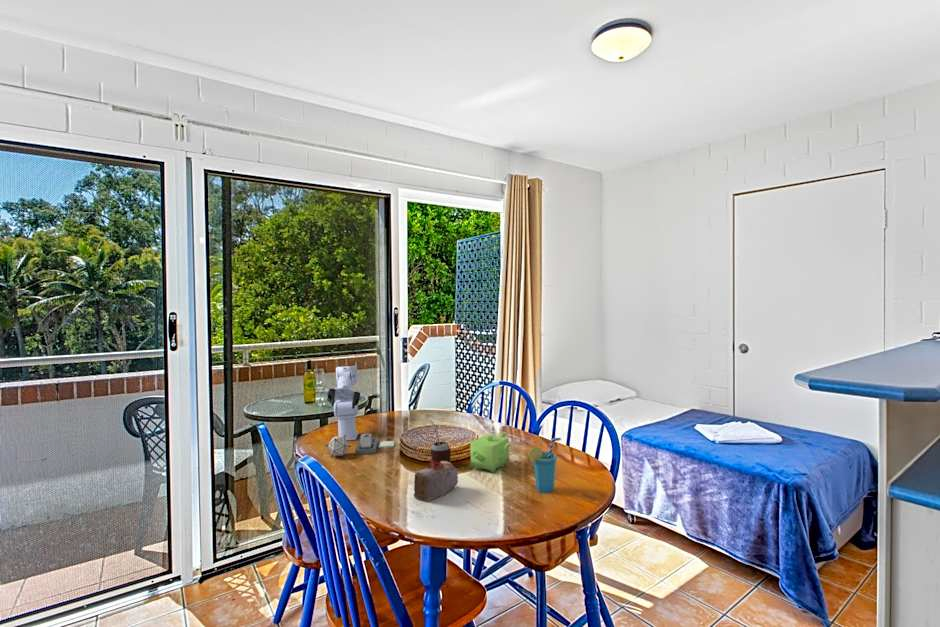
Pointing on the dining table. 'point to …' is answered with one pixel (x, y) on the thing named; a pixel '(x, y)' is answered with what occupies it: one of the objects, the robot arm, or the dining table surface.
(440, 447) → the mate gourd
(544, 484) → the cup
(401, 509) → the dining table surface
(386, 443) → the tray
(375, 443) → the metal frame
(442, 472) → the food item
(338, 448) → the game die
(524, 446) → the dining table surface
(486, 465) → the green knobbed block
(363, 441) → the grey knob block
